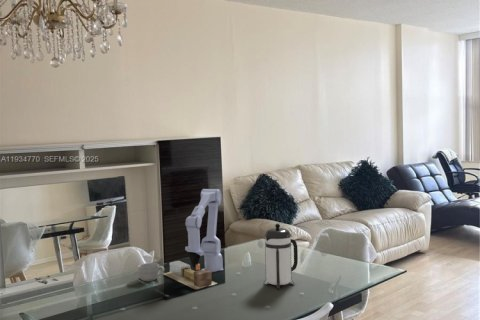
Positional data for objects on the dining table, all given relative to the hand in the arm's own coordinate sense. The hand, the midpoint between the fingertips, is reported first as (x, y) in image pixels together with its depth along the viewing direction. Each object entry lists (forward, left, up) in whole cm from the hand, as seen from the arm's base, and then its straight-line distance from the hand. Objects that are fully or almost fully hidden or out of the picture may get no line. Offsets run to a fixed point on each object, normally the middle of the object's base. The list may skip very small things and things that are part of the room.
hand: (195, 267), depth 240 cm
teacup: (+15, -18, -8) cm, 25 cm away
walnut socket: (0, +7, -7) cm, 10 cm away
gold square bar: (0, -2, -6) cm, 6 cm away
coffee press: (-30, +30, -8) cm, 43 cm away
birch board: (0, -6, -8) cm, 10 cm away
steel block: (0, -15, -7) cm, 17 cm away
